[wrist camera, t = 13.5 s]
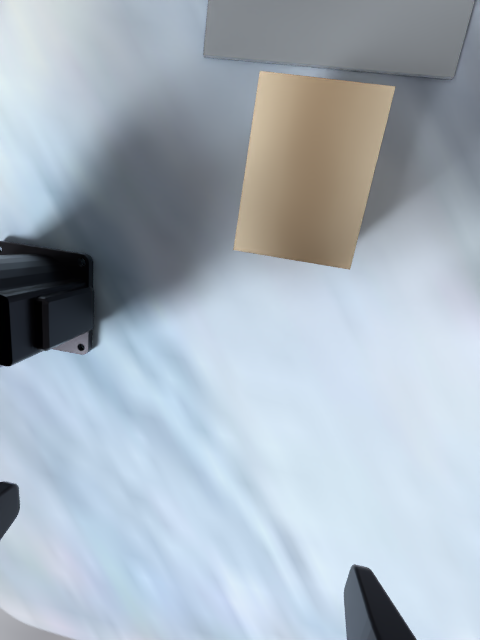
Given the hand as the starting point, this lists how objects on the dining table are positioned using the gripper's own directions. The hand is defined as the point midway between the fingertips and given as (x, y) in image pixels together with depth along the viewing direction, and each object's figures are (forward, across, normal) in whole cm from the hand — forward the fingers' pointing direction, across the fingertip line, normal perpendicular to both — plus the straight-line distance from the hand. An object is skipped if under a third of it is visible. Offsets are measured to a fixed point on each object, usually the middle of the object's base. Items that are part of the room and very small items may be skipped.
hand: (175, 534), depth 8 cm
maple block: (+12, -2, -10) cm, 16 cm away
